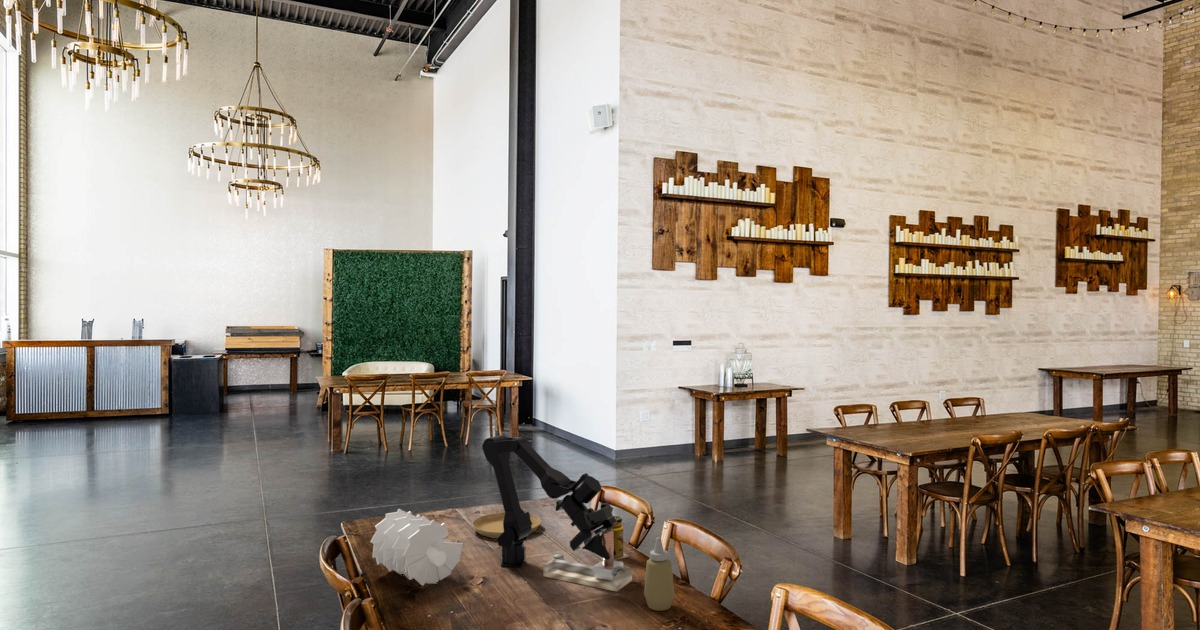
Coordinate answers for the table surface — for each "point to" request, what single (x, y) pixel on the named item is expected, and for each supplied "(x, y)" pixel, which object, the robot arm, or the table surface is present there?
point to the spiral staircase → (415, 547)
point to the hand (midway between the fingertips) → (612, 557)
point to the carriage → (607, 567)
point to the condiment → (617, 539)
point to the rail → (584, 574)
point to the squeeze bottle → (659, 579)
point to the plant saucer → (497, 524)
